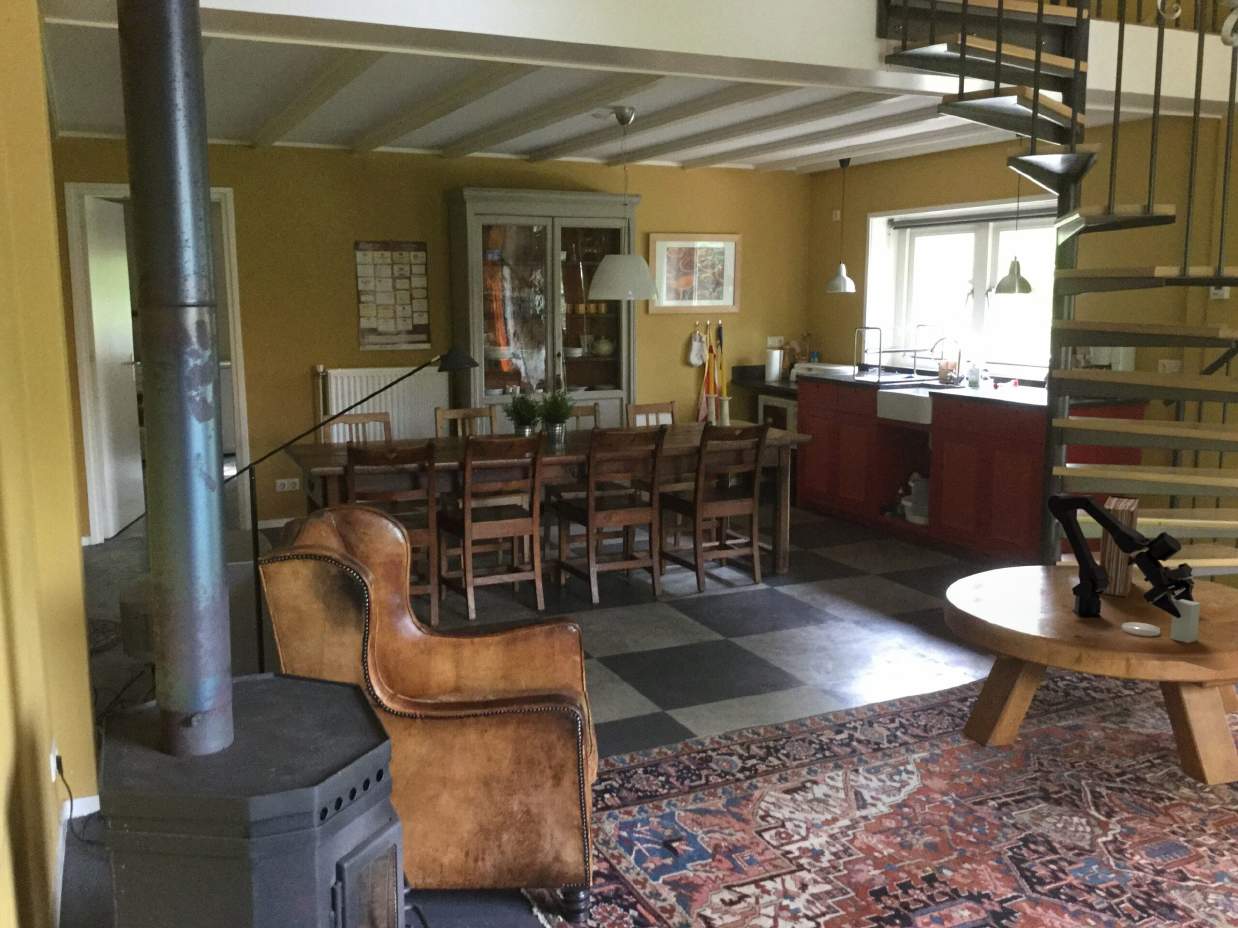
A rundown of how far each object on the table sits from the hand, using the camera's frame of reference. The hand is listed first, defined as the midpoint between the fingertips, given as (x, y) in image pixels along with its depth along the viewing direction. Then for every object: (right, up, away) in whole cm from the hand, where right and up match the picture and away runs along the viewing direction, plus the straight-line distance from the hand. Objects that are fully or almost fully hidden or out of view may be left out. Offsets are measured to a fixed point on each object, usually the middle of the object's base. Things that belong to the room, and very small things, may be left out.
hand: (1188, 614), depth 299 cm
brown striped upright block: (+6, +1, +58) cm, 58 cm away
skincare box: (+15, -3, +33) cm, 36 cm away
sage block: (0, -7, +2) cm, 7 cm away
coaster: (-9, -6, +9) cm, 14 cm away
